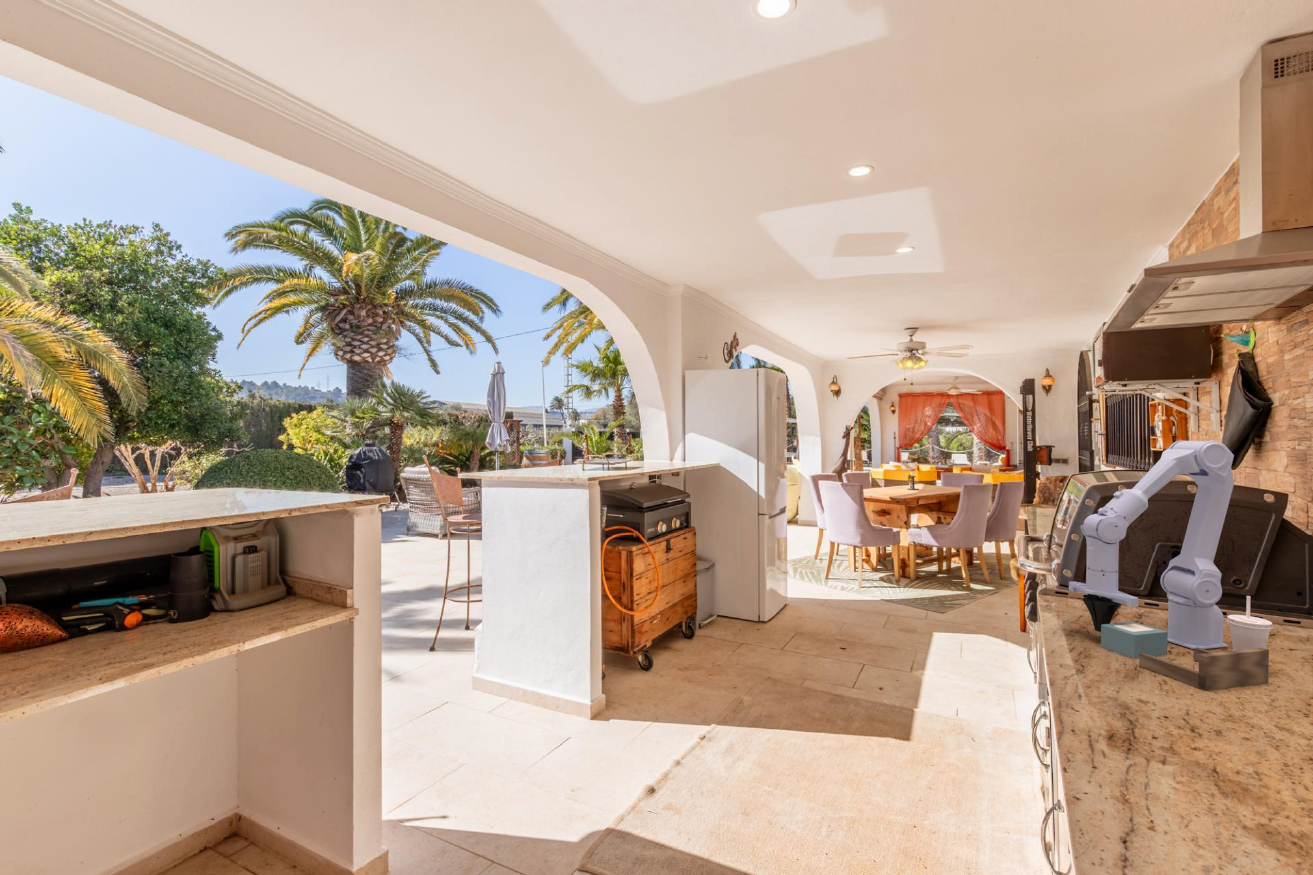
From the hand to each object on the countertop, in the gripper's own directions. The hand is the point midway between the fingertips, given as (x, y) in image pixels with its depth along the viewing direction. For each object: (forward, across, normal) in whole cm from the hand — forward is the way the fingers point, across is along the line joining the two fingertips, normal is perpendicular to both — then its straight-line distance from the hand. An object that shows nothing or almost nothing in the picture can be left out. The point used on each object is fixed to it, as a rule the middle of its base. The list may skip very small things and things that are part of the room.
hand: (1101, 631), depth 136 cm
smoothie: (+2, +20, +12) cm, 24 cm away
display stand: (+2, +19, 0) cm, 19 cm away
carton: (+2, +7, 0) cm, 7 cm away
